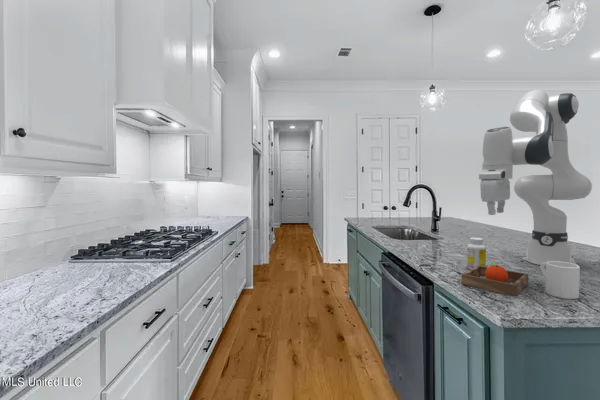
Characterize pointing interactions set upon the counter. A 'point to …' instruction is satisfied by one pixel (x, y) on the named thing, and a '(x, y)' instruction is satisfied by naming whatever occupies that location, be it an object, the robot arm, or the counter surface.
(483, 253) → the supplement bottle
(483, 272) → the wooden frame
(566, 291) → the mug
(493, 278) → the clementine
